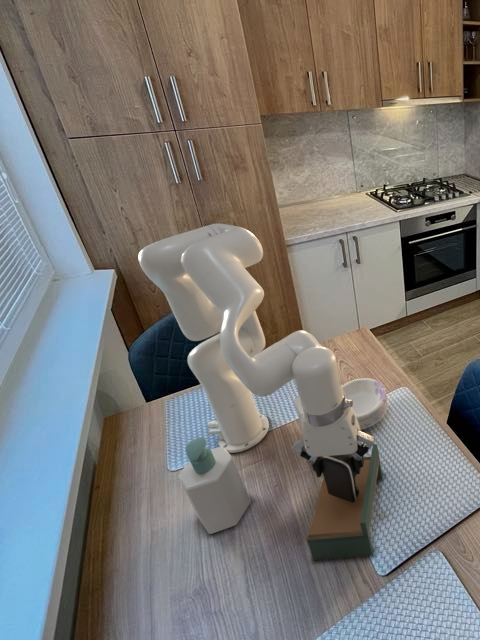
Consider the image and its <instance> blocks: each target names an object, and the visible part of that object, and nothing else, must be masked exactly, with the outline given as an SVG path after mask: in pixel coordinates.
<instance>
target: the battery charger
mask: <svg viewBox="0 0 480 640" xmlns="http://www.w3.org/2000/svg"><path fill="white" fill-rule="evenodd" d="M321 469H322V476H323V479H325V483H326V486H327V490H328V494H330V495H332V496H335V497H338V498H340V499H343V500H346V501H348V502H351V503H354V501H356V499H357V497H358V494H359V489H358V488H357V487H356V483H355V476H356V475H357V473H356V471H355V466H354V457H353V456H351V455H350V454H345V455H333V456H324V457H323V458H322V460H321Z"/></svg>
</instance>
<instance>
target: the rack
mask: <svg viewBox="0 0 480 640" xmlns="http://www.w3.org/2000/svg"><path fill="white" fill-rule="evenodd" d="M379 452H380V451H379V447H378V443H374V445H373V446H372V447H371V453H370V456H363V457H364V466H363V467H361V470H360V474H357V475H356V476H355V483H356V487H357V488H358V489H359V494H358V497H357V499H356V501H354V503H351V502H348V501H346V500H343V499H340V498H338V497H335V496H332V495H330V494H328V490H327V486H326V483H325V479H324V478H322V483H321V487H320V490H319V494H318V498H317V501H316V505H315V509H314V511H313V516H312V520H311V524H310V527H309V531H308V533H307V534H308V535H307V538H306V542H307V545H308V548H309V551H310V554H311V556H312V560H313V561H323V560H334V559H345V558H355V557H367V556H373V554H374V547H373V543H372V539H371V534H370V531H371V522H372V517H373V509H374V503H375V494H376V489H377V481H378V480H382V479H383V476H384V475H383V468H382V463H381V458H380V453H379Z"/></svg>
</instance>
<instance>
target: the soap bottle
mask: <svg viewBox="0 0 480 640" xmlns="http://www.w3.org/2000/svg"><path fill="white" fill-rule="evenodd" d="M207 442H208V441H207V439H206V438H205V437H197V438H194V439H193V440H191V441H190V442H189V443H188V444H187V445H186V446H185V453H186V456H187V458H188V462H187V464H186V465H185V466H184V467H183V468H182V470H181V471H180V472H179V473H178V475H177V478H178V480H179V482H180V484H181V487H182V488H183V490H184V492H185V494H186V495H187V497H188V500H189V501H190V503H191V505H192V507H193V509H194V511H195V514H196V515H197V517H198V519H199V521H200V522H201V524H202V526H203V527H204V529H205V530H206V532H207V533H208V534H209V535H212V534H214V533H218V532H221V531H223V530H226V529H229V528H232V527H234V526H235V527H236V526H237V524H238V523H239V522H240V520H241V519H242V517H243V515H244V514H245V512H246V511H247V510H248V507H249V506H250V504H251V498H250V496H249V493H248V491H247V489H246V486H245V484H244V482H243V479H242V476H241V474H240V472H239V468H238V466H237V465H236V462H235V460H234V457H233V455H231V453H230V452H227V450H226V449H225V448H224V447H223V446H217V447H214V448H211V449H210V448H208V447H207V448H206V445H207Z"/></svg>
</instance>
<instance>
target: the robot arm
mask: <svg viewBox="0 0 480 640" xmlns="http://www.w3.org/2000/svg"><path fill="white" fill-rule="evenodd" d="M263 257H264V248H263V246H262V243H261V242H260V240H259V239H258V238H257V236H255V234H254V233H252V232H251V231H249V230H248V229H246V228H244V227H241V226H237V225H232V224H226V223H217V222H216V223H211V224H208V225H204V226H201V227H198V228H194V229H192V230H189V231H186V232H182V233H178V234H175V235H172V236H169V237H166V238H163V239H159V240H157V241H155V242H153V243H150V244H148V245H146V246H145V247H143V248H142V249H141V250H140V251H139V253H138V263H139V266H140V268H141V270H142V271H143V273H144V274H145V276H146V277H147V278H148V279H149V280H150V281H151V282H152V283H153V284H155V286H156V287H158V288H159V289H160V291H161V292H162V293H163V294H164V296H165V298H166V300H167V302H168V305H169V307H170V310H171V312H172V314H173V315H174V318H175V320H176V322H177V324H178V326H179V329H180V331H181V333H182V334H183V336H184V337H185V338H186V339H188V341H192V342H199V341H202V342H201V343H199V344H198V345H197V346H195V347H194V348H193V349H191V351H190V352H189V353H188V355H187V359H186V361H187V365H188V367H189V369H190V371H191V373H193V375H194V377H195V378H196V379H197V380H198V382H199V384H200V386H201V387H202V389H203V391H204V394H205V396H206V398H207V400H208V404H209V406H210V408H211V410H212V413H213V415H214V417H215V420H210V421H209V422H208V424H207V428H208V431H207V432H208V435H209V436H212V435H217V436H218V439H217V442H218V443H217V444H218V447H220V446H223V447H224V448H225V449H226V450H227V452H228V453H229V454H233V453H240V452H243V451H246V450H250V449H251V448H253V447H254V446H256V445H257V444H259V443H260V442H261V441H262V440H263V439H264V438H265V436H266V435H267V433H268V432H269V428H270V422H269V419H268V417H267V416H266V415H265V414H262V413H260V412H259V409H258V407H257V403H256V401H255V398H254V396H257V397H267V396H270V395H272V394H274V393H275V392H277V391H278V390H280V389H281V388H283V387H284V386H286V385H287V384H288V383H290V382H291V381H293V380H294V382H295V386H296V389H297V392H298V395H299V396H300V400H301V404H302V407H303V411H304V413H303V419H302V427H301V429H302V428H303V431H302V436H301V437H300V438H299V439H297V440H296V441H295V442H293V444H292V447H291V450H292V451H293V452H295V453H297V454H299V456H300V457H301V458H303V459H305V460H307V461H308V464H310V465H311V466H312V469H313V472H315V475H316V477H317V478H321V477H322V476H323V473H322V469H321V460H322V458H323V456H333V455H345V454H350V455H351V456H353V457H354V466H355V471H356V473H357V474H360V470H361V467H363V466H364V457H365V455H366V454H367V453H368V452H369V450H370V449H372V447H373V445H374V444H375V440H376V437H375V436H373V435H370V434H368V433H366V432H364V431H362V430H360V427H359V423H358V420H357V417H356V415H355V412H354V410H353V408H352V406H353V400H348V399H346V398H345V394H343V389H342V385H343V384H342V381H341V376H340V375H341V374H340V371H339V367H338V361H337V357H336V354H335V353H334V351H332V350H331V349H330V348H328V347H325V346H322V344H320V342H319V341H318V340H317V338H316V337H315V336H314V335H313V334H312V333H309V332H308V331H306V330H304V329H303V330H302V329H301V330H300V329H299V330H296V331H294V332H291V333H290V334H288V335H286V336H285V337H284V338H282V339H280V340H279V341H277V342H274V343H273V344H271V345H269V347H266V344H267V343H266V337H265V333H264V331H263V328H262V325H261V322H260V320H259V316H258V315H257V314H258V313H257V312H256V310H257V309H258V307H259V306H260V305H261V304H262V301H263V300H264V297H265V291H264V289H263V287H262V286H261V285H260V284H259V283H258V282H257V280H256V279H255V278H254V277H253V276H252V275H251V274H250V272H248V270H247V268H249V267H251V266H253V265H256V264H258V263H260V262H261V260H263ZM203 340H204V341H203Z"/></svg>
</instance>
